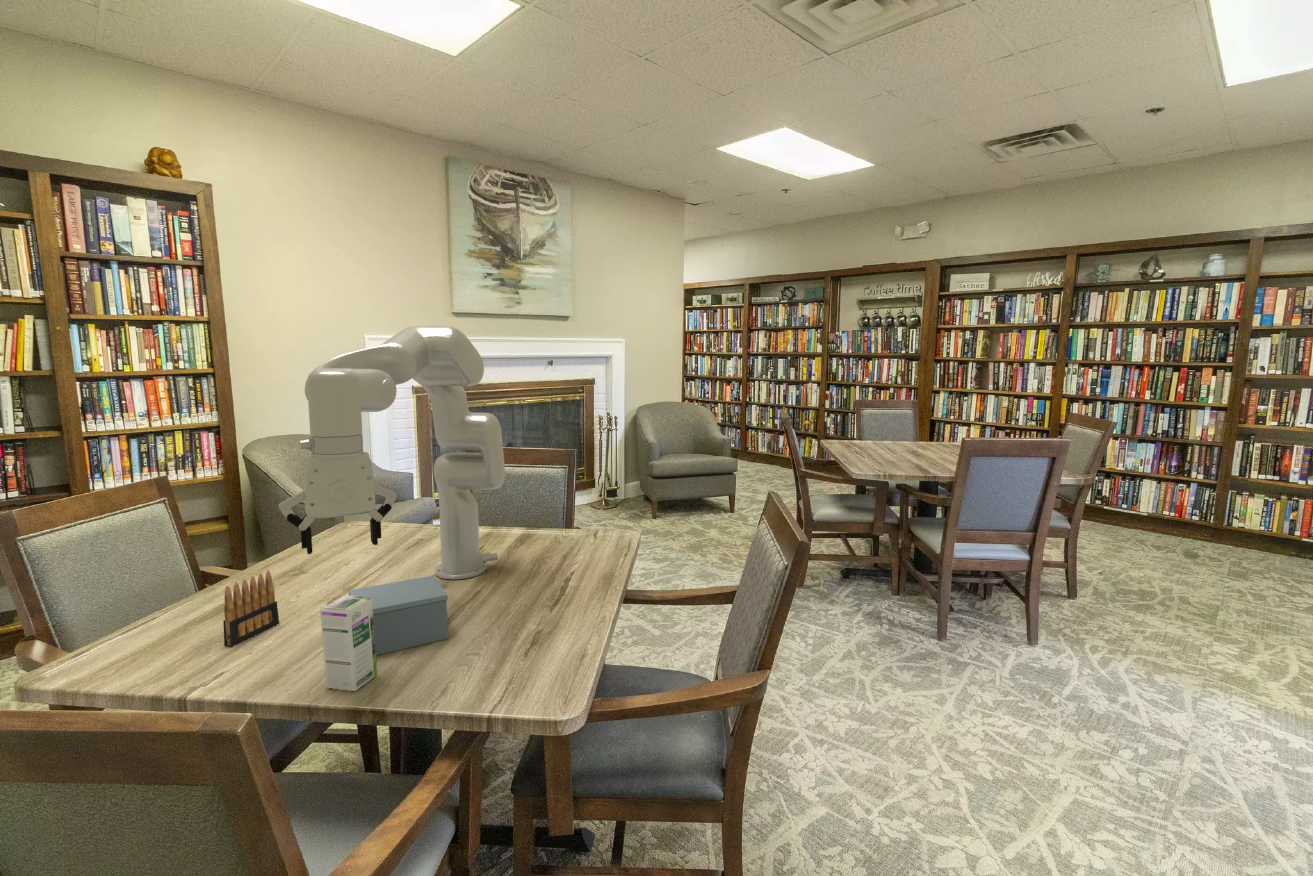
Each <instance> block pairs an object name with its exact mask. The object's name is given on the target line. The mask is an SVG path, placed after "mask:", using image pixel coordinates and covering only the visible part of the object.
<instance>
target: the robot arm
mask: <svg viewBox="0 0 1313 876" xmlns="http://www.w3.org/2000/svg"><path fill="white" fill-rule="evenodd" d="M484 373H485V365H484V360H483V358H482V355H481V354H480V353H479V350H478V349H477V348H476V347H475V345H474V344H473V343H472V342H471V341H470V339H469V338H468V336H467V335H466V334H464V333H463V331H461V330H459V329H458V328H457V327H454V326H446V325H439V326H438V325H433V326H432V325H431V326H430V325H415V326H414V325H413V326H409V327H406V328H403V329H401V330H400V331H398V332H397V333H396V334H395V335H393V336H391V337H390V338H388V339H387V340H385V341H384V342H383V343H381V344H378V345H373V346H372V345H371V346H369V347H365V348H362V349H359V350H356V351H351V352H347V353H344V354H340V355H338V356H334V357H332V358H329V359H328V360H327V361H325V362H322V364H319V365H318V366H317V367H315V368H314V369H313V370H312V371H311V372H310V373H309V374H308V376H307V378H306V380H305V384H304V385H305V386H304V394H305V398H306V400H307V403H308V405H307V406H308V417H309V418H308V419H309V422H308V423H309V435H310V436H309V438H308V439H305V440H300V442H299V444H300V446H299V447H300V449H301V450H307V451H309V452H311V453H310V454H308V455H306V458H305V464H304V477H303V490H302V491H300V492H298V493H296V494H294V495H291V496H290V497H289V498H287V499H285V500H283V501H281V502H280V503H278V509H279V511H280V512H281V514H282V515H283V516H284V517H285V518H286V520H287V521H288V522H289V523H290V524H292V525H293V526H294V527H296V528H298V529H299V531H300V539H301V549H306V555H312V553H313V541H312V540H313V537H312V528H311V524H312V523H313V522H314V521H315V520H316V519H326V518H327V519H328V518H336V517H337V518H339V517H345V516H346V517H347V516H354V515H355V516H356V515H362V514H368V515H369V516H370V517H371V518H370V519H369V527H370V529H369V530H370V541H371V544H372V545H373V546H378V545H379V544H378V543H379V541H378V539H382V521H383V519H384V517H386V515H387V514H389V512H390V511H391V510H392V507H393V506H394V504H395V502H396V500H397V497H398V494H397V492H395V491H393V490H390V489H387V488H384V487H382V486H379V485H376V484H375V480H374V473H373V472H374V471H373V466H372V462H371V457H370V454H369V452H367V451H364V441H363V440H364V439H363V438H364V437H363V420H362V417H363V415H362V413H377V412H382V411H384V410H387V409H388V408H390V407H391V406H392V405H393V403H394V402H395V400H396V398H397V385H403V384H404V383H407V382H409V381H410V380H412V379H413V381H415V382H416V383H417V384H419V385H420V386H421V387H422V389H424V390H425V392H426V393H427V395H428V397H429V401H430V406H431V413H432V419H433V427H434V433H435V439H436V442H437V444H438V446H439V447H440V448H442V449H445V450H451V451H454V452H447V453H443V454H441V455H439V456H438V457H437V459H436V460H435V462H434V464H433V465H434V466H433V474H434V476H433V477H434V481H435V484H436V488H437V494H438V495H437V496H438V503H439V504H438V507H439V533H440V555H441V556H440V557H441V559H440V560H441V564H440V565H438V566H437V567H436V568H435V575H436V576H437V577H438V578H440V579H445V580H464V579H469V578H474V577H477V576H479V575H481V574H483V573H484V572H486V570H487V566H486V564H487V562H493V561H494V562H495V561H498V559H499V558H498V557H499V555H498V552H494V553H491V552H490V551H487V552H483V553H482V552H481V550H480V535H479V533H480V532H479V529H480V527H479V507H478V506H479V505H478V501H477V500H476V497H474V495H473V493H472V492H471V490H472V491H473V490H475V491H491V490H493V491H495V490H498V489H500V488H501V487H502V486H503V484H504V482H505V479H506V478H505V476H506V467H505V465H506V464H505V455H504V446H503V445H504V444H503V435H502V427H501V423H500V422H499V419H498V418H497V417H496V416H495V414H492V413H489V412H471V411H470V410H469V404H468V397H467V392H466V390H465V388H464V387H473V386H476V385H478V384H479V383H480V382H481V381H482V379H483V378H484V377H483V376H484ZM456 451H457V452H456ZM458 451H478V452H458ZM376 495H379V496H382V497H384V498H385V501H384V503H383V504H382V505H381V506H380V507H379V508H378V509H377V508H376ZM303 501H304V508H305V513H304V515H303V516H302V517H300V516H298V514H296V513H294V511H293V510H292V508H293V507H295V506H296V505H298V504H300V503H301V502H303Z"/></svg>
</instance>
